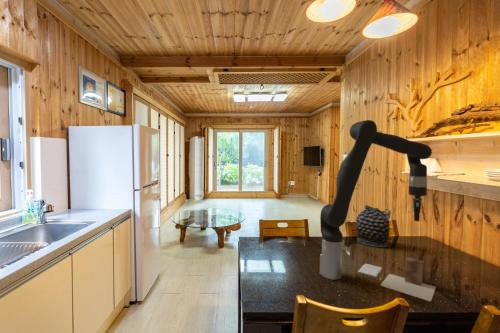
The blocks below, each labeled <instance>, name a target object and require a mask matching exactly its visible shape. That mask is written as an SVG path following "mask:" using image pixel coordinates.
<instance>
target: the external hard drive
mask: <svg viewBox="0 0 500 333" xmlns="http://www.w3.org/2000/svg"><path fill="white" fill-rule="evenodd" d="M382 269H383V267H381V266H377V265H373V264H368V263H364V264H363V265H362V266H361V267H360V268H359V269H358V271H357V275H361V274H362V275H366V276H369V277H373V278H377V277H378V275H379V274H380V272H382Z"/></svg>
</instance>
